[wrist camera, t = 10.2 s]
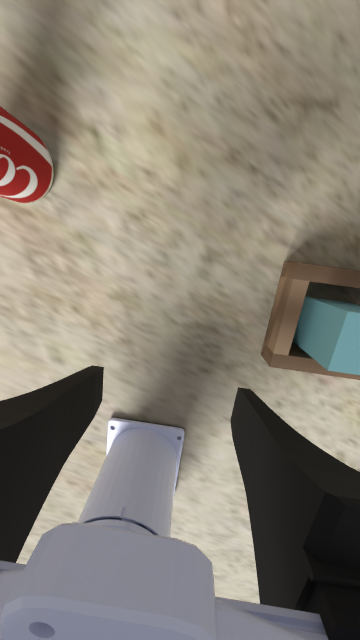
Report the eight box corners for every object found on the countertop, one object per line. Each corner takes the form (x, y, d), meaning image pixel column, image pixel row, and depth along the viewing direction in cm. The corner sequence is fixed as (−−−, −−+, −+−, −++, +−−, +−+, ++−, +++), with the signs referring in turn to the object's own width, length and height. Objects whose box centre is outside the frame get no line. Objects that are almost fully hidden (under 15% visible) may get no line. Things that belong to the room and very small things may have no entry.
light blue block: (334, 345, 20) (389, 379, 15) (289, 338, 20) (327, 370, 15) (348, 302, 19) (414, 320, 14) (301, 295, 19) (347, 311, 14)
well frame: (351, 367, 21) (372, 381, 18) (260, 354, 21) (269, 366, 19) (386, 275, 19) (415, 278, 16) (284, 261, 19) (297, 262, 16)
